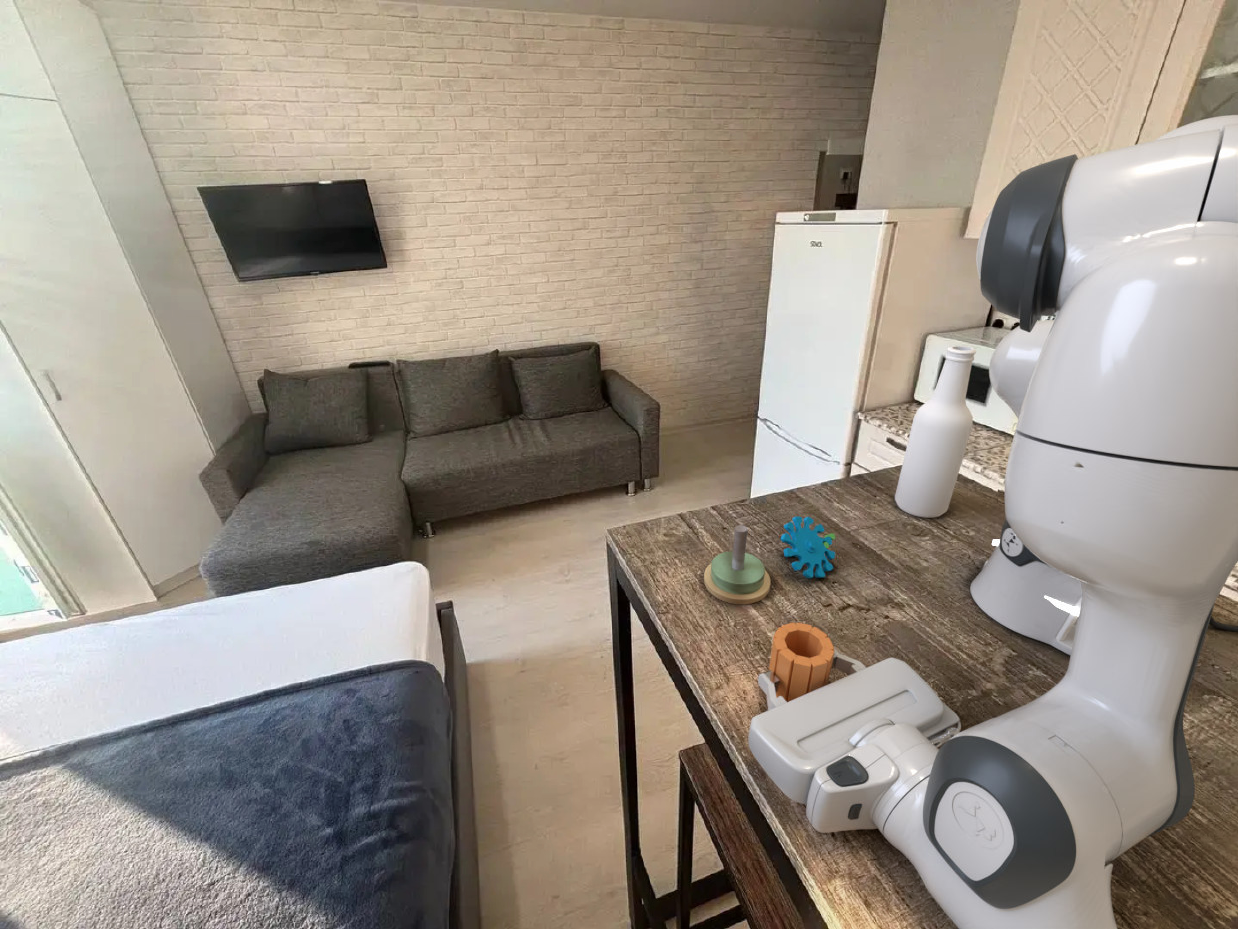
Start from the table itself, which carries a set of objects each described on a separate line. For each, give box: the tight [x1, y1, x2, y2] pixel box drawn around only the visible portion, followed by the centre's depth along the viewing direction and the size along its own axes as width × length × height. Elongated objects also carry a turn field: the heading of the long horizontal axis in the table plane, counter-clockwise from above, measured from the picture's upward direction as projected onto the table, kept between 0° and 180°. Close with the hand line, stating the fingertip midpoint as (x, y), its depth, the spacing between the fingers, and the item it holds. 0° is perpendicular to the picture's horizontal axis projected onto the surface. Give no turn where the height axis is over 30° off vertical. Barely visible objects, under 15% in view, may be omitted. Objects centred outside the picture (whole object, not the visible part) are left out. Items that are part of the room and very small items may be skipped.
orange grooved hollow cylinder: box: [768, 621, 835, 702], centre depth 58 cm, size 6×6×9 cm
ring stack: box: [703, 524, 771, 605], centre depth 77 cm, size 10×10×10 cm
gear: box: [780, 515, 836, 580], centre depth 82 cm, size 11×6×10 cm
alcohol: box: [894, 345, 977, 519], centre depth 89 cm, size 9×9×30 cm
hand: (794, 663), depth 58 cm, fingers open, 7 cm apart
